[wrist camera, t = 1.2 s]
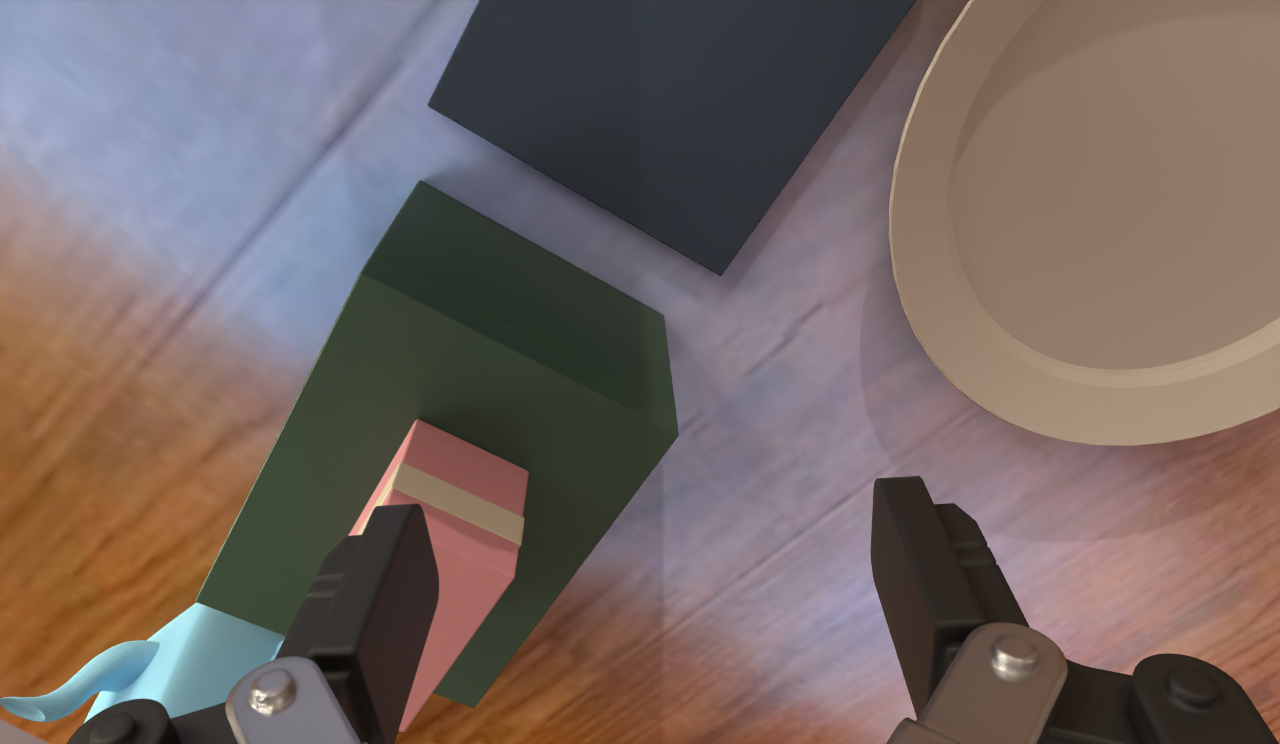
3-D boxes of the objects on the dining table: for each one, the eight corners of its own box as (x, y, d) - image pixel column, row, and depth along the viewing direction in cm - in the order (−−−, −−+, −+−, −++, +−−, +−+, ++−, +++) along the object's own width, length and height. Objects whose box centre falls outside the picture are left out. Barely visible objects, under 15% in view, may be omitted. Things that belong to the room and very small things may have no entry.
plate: (1628, 91, 36) (1679, 101, 35) (1136, 505, 46) (1157, 530, 44) (1249, -374, 29) (1291, -391, 27) (755, 240, 38) (762, 256, 37)
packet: (325, 571, 34) (277, 688, 29) (416, 415, 31) (379, 517, 26) (433, 616, 35) (405, 735, 30) (531, 470, 32) (518, 577, 27)
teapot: (443, 687, 51) (409, 855, 42) (281, 792, 55) (218, 966, 46) (183, 492, 44) (77, 645, 35) (18, 629, 48) (-115, 798, 39)
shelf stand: (278, 456, 43) (193, 602, 34) (420, 179, 37) (360, 271, 28) (499, 553, 46) (473, 709, 38) (663, 314, 40) (679, 435, 31)
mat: (429, 103, 35) (426, 106, 35) (609, -262, 30) (610, -264, 29) (719, 272, 39) (720, 276, 39) (927, -23, 34) (932, -21, 33)
